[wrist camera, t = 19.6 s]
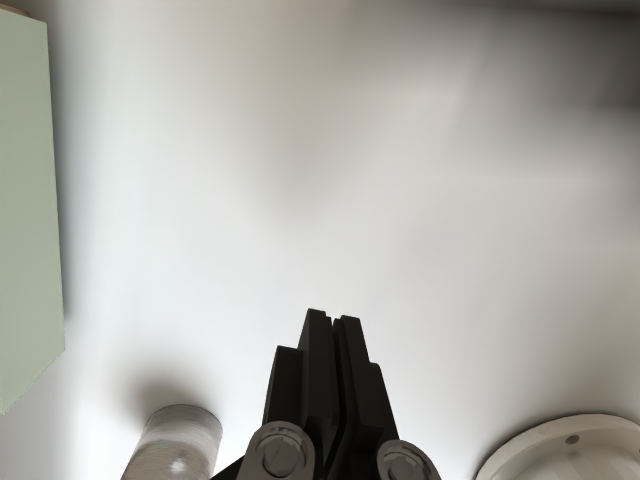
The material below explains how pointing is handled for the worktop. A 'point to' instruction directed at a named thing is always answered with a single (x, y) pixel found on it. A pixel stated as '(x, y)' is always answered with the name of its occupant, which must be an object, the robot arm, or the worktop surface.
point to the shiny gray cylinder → (176, 446)
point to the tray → (27, 211)
